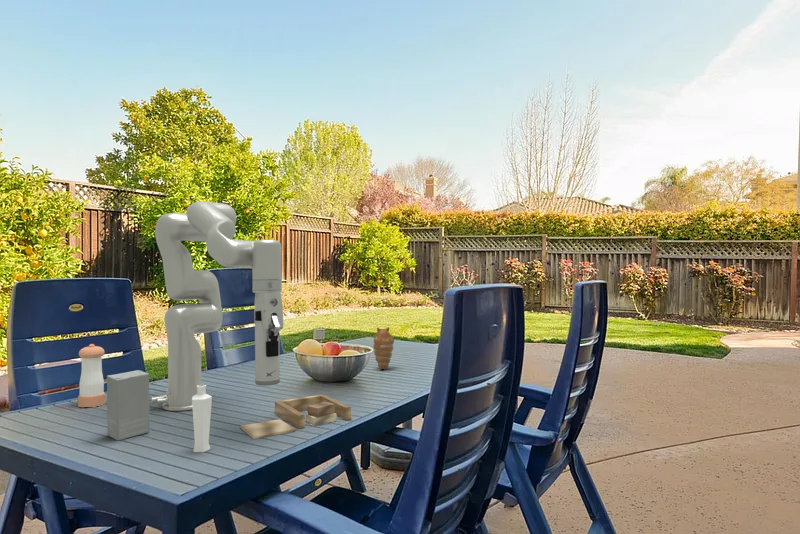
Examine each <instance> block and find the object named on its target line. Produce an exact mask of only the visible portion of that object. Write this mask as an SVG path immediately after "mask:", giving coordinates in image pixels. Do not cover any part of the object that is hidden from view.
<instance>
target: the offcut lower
mask: <svg viewBox="0 0 800 534" xmlns="http://www.w3.org/2000/svg"><path fill="white" fill-rule="evenodd" d="M337 417H338V416H337V414H336V413H333V414H329V415H326V416H322V417H319V418H317V417H313V416H310V415H308V412H307V413H305V422H306V421H307V423H308V424H309V423H310V425H311V424H312V425H311V426H313V425H315V426H319V425H318V424H321V425H324V423H326V424H330V423H329V422H332V423H335V422H334V421H337Z"/></svg>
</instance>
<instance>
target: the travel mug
mask: <svg viewBox="0 0 800 534" xmlns="http://www.w3.org/2000/svg"><path fill="white" fill-rule="evenodd" d="M255 317H256V318H255V323H254V354H255V355H254V357H255V358H254V364H255V365H254V367H255V368H254V379H255V380H254V381H255V382H254V383H255V384H256V385H257V386H263V387H266V386H274V385H278V384H279V383H280V381H281V379H280V376H281V375H280V374H281V373H280V371H281V368H280V365H281V363H280V353H281V352H279V355H278V356H274V357H266V341H267V335H266V330H264V329H263V325H262V319H261V311H255ZM269 329H273V326H269ZM270 335H271V332H270Z"/></svg>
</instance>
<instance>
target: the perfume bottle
mask: <svg viewBox="0 0 800 534" xmlns="http://www.w3.org/2000/svg"><path fill="white" fill-rule="evenodd" d="M206 388H207V385H206V384H201V385H197V394H196V395H195V396H193V397H192V408H193V409H192V419H193V422H192V423H193V435H194V436H193V437H194V446H193V450H192V451H193V453H205V452H207V451H209V450H211V445H210V441H209V440H210V431H211V430H210V428H211V415H212V403H213V396H212V395H210V394H208V393H207V392H206Z"/></svg>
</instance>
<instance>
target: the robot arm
mask: <svg viewBox="0 0 800 534" xmlns="http://www.w3.org/2000/svg"><path fill="white" fill-rule="evenodd" d="M236 223H237V213H236V211H235V209H234V208H233V207H232V206H231V205H230V204H227V203H222V202H213V201H206V200H205V201H202V200H201V201H196V202H193V203H191V204H190V205H189V206H188V207H187V209H186V212H185V213H183V212H169V213H164V214H163V215H161V216H160V217H158V220H157V221H156V224H155V228H154V229H155V230H154V231H155V233H154V236H155V240H156V241H155V242H156V245H157V248H158V250H159V253H160V255H161V260H162V265H163V266H162V267H163V273H164V274H163V275H164V283H165V289H166V294H167V297H168V298H170V299H171V300H173V301H193V300H195V301H198V302H199V303H184V304H183V303H181V304H176V305H172V306H171V307H169V308H168V309H167V310H166V312H165V315H164V326H165V331H166V337H167V338H166V339H167V373H168V374H167V378H168V379H167V383H168V384H167V388H168V390H167V391H165V394H162V395H159V396H158V395H157V396H151V398H150V404H157V405H158V404H162V409H163V410H165V411H169V412H171V411H172V412H173V411H174V412H181V411H182V412H183V411H191V410H192V411H193V408H192V397H193V396H195V395H196V394H197V385H202V348H201V344H200V343H199V341H198V340H197V338H196V337H195V335H197V334H206V333H207V334H209V333H213V332H216V331H218V330H220V328H221V327H222V324H223V320H224V319H223V308H222V299H221V292H220V285H219V281H218V278H217V277H216V275H215V274H214V273H213V272H212V271H209V270H201V269H200V270H199V269H198V270H196V269H194V265H193V259H192V254H191V253H190V252H189V250H188V248H187V247H186V246H185V245H184V244H183V243H182V241H186V242H187V241H189V242H205V244H206V246H205V247H206V250H207V253H208V254H209V257H211V258H212V259H214V261H216V262H217V263H218V264H219V265H220V266H223V267H225V268H229V269H252V270H251V271H252V293H254V309H253V310H254V311H253V313H254V314H253V315H254V316H253V317H254V318H253V320H254V322H253V323H254V324H255V318H256V317H255V311H261V319H262V325H263V329H264V330H266V335H267V341H266V357H274V356H278V355H279V353H280V331H281V330H283V328H284V312H283V311H284V308H283V298H282V292H283V290H282V289H283V287H282V286H283V284H282V283H283V277H282V276H283V275H282V274H283V271H282V270H283V269H282V267H283V265H282V263H283V262H282V253H283V252H282V243H281V242H280V241H279V240H275V239H257V240H246V239H245V240H244V239H233V238H234V236H235V234H236V228H237V227H236ZM269 326H273V329H269ZM270 332H271V335H270Z"/></svg>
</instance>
